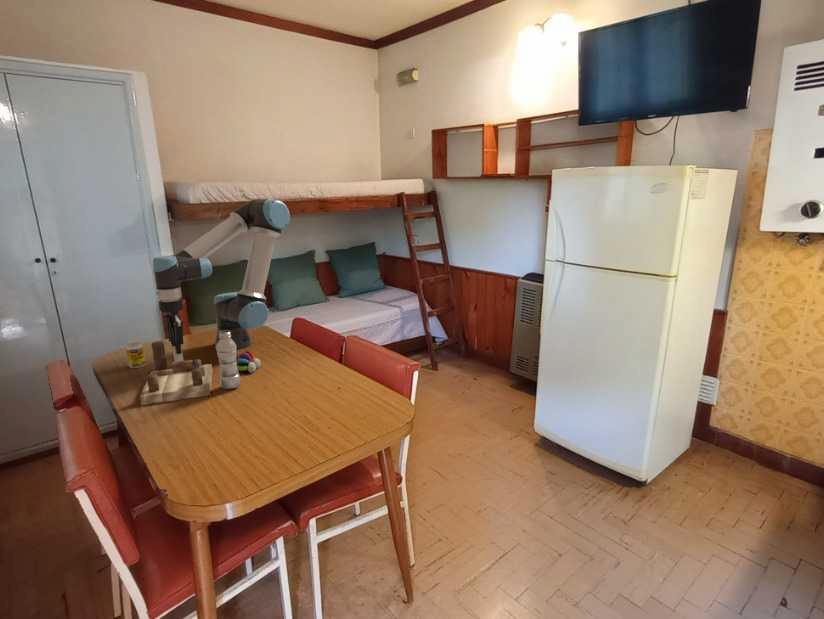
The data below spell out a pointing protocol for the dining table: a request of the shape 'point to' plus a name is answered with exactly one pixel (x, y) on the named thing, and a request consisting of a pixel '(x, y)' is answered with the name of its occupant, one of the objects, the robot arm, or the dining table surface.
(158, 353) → the loose leg
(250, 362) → the multicoloured ball
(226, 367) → the plastic bottle
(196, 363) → the folding leg
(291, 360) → the dining table surface
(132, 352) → the supplement bottle
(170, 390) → the board
